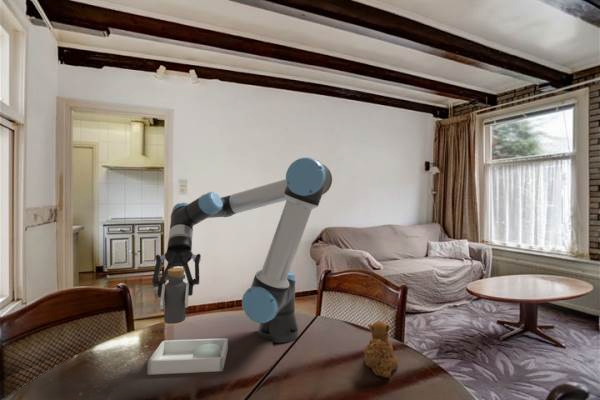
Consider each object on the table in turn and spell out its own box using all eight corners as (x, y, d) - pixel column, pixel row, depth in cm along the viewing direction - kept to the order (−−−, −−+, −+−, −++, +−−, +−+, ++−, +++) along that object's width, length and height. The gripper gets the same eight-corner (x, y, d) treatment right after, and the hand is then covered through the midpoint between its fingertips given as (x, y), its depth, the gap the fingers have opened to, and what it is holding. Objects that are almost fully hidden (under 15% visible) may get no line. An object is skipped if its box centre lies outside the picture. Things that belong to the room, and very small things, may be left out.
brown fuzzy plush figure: (398, 361, 95) (398, 318, 96) (398, 386, 82) (399, 336, 82) (365, 355, 98) (366, 314, 99) (360, 379, 85) (361, 331, 85)
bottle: (177, 324, 88) (179, 272, 88) (159, 322, 89) (161, 270, 89) (189, 317, 93) (190, 268, 94) (172, 315, 95) (173, 266, 95)
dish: (219, 352, 97) (220, 342, 97) (221, 365, 89) (221, 354, 89) (192, 355, 94) (193, 345, 95) (191, 368, 87) (192, 357, 87)
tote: (227, 352, 99) (228, 338, 99) (222, 374, 86) (223, 358, 86) (162, 355, 96) (162, 340, 97) (147, 378, 84) (147, 361, 84)
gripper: (209, 247, 109) (208, 309, 93) (150, 248, 103) (139, 315, 87) (209, 234, 104) (208, 297, 88) (148, 234, 98) (135, 302, 82)
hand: (174, 305), depth 88 cm, fingers closed on bottle, 6 cm apart
